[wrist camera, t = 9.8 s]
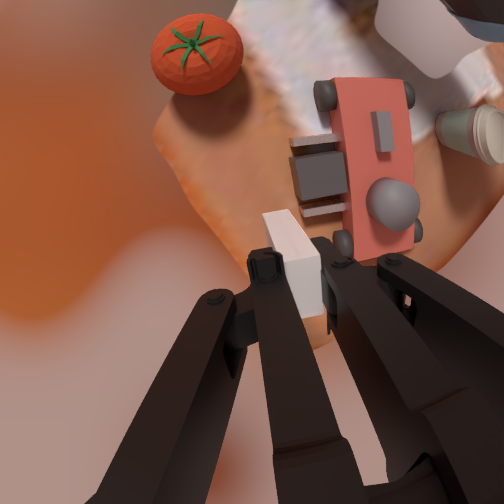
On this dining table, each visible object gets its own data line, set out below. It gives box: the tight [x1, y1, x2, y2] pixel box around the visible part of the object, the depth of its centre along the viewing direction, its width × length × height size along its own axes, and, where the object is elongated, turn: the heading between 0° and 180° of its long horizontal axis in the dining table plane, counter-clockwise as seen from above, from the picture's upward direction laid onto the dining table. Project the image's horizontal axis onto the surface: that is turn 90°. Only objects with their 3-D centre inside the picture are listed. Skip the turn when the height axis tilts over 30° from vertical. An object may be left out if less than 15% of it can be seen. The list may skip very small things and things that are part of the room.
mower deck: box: [314, 77, 423, 261], centre depth 32 cm, size 24×13×8 cm, turn 10°
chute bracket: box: [289, 133, 348, 217], centre depth 34 cm, size 10×6×2 cm, turn 10°
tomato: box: [151, 14, 243, 96], centre depth 24 cm, size 10×10×10 cm
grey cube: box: [289, 151, 348, 201], centre depth 34 cm, size 5×6×4 cm
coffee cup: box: [435, 104, 504, 166], centre depth 28 cm, size 8×8×12 cm
